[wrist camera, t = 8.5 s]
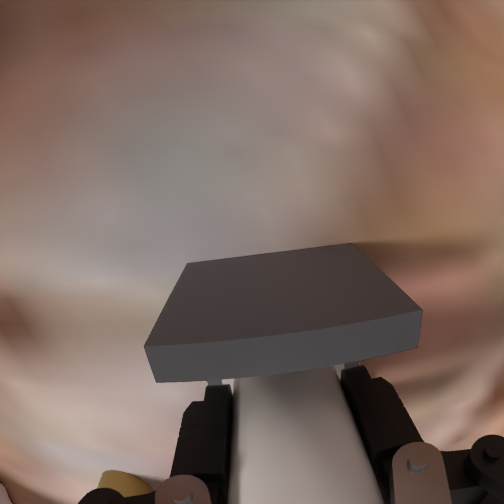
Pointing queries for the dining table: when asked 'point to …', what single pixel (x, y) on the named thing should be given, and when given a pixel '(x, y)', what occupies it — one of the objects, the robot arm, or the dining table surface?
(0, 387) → the dining table surface
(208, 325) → the grey compartment rack
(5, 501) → the cable organizer
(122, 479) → the plug mustard
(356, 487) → the plug white
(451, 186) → the dining table surface
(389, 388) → the robot arm
